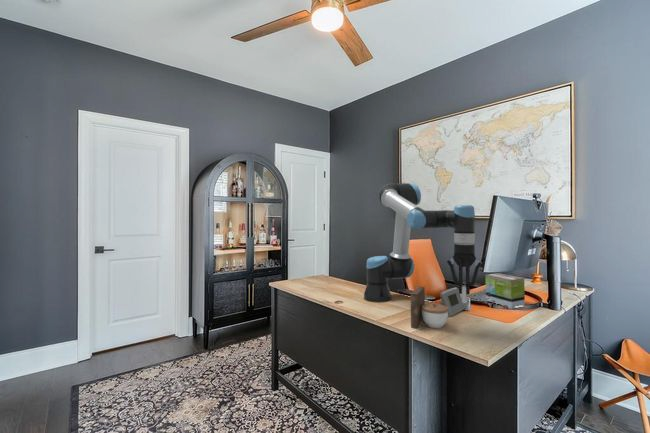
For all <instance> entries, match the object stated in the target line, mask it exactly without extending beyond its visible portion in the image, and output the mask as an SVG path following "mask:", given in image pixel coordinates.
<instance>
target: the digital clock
mask: <svg viewBox="0 0 650 433" xmlns="http://www.w3.org/2000/svg"><path fill="white" fill-rule="evenodd" d="M439 296H440V300H441V302H440V303H439V304H440V305H444V306H446V307H448V317H451V316H454V315H457V314H458V313H460V312H462V311H464V310H465V308H466V307H465V303H462V294H459V287H452V288H451V287H450V288H448V289H445V290H443V291H441V292H440V293H439Z"/></svg>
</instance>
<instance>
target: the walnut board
mask: <svg viewBox="0 0 650 433" xmlns="http://www.w3.org/2000/svg"><path fill="white" fill-rule="evenodd" d="M425 292H426V290H425V286H417V287H416V288H415V289H414V290H413V291H411V293H410V328H411V329H418V328H419V327H420V325H422V323H423V322H424V320H423V317H422V309H421V306H422V305H424V304H426V302H425V301H426V299H425V297H426V296H425Z"/></svg>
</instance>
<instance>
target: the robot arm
mask: <svg viewBox="0 0 650 433" xmlns="http://www.w3.org/2000/svg"><path fill="white" fill-rule="evenodd" d="M377 198H378V201H379V203H381V205H383V206H384V207H385V208H386V207H387V208H390V209H392V211H394V212H395V220H394V221H395V222H394V236H393V247H392V252H390V253H389V257H387V255H377V256H376V255H375V256H371V257H369V258H367V260H366V286H365V289H364V290H365V291H364V292H363V299H364V300H366V301H368V302H374V303H375V302H376V303H383V302H389V301H391V300H392V292H391V290H390V288H389V283H388V282H389V280H394V279H405V278H406V279H408V278H410V277H411V276H412V275H413V273H414V271H415V264H414V260H413V258H412V255H411V254H410V253H409V252H410V251H409V249H410V239H411V238H410V237H411V229H416V230H421V229H453V236H454V237H453V241H454V243H455V244H454V245H453V247H454V249H453V251H454V252H453V256H452V258H450V259H448V260H447V262H446V263H447V265H448V266H449V268H450V271H451V276H452V279H453V283H454V285H457V286H458V290H459V294H460V295H461V298H462V303H464V304H467V301H468V300H467V299H468V298H467V296H469V295H470V294H471V293H470V290H471V288H470V287H473V286H475V284H476V281H477V276H478V272H479V269H480V268H481V267H482V265H483V263H482V261H479V260H478V259H477V257H476V255H475V254H476V252H475V250H476V249H475V247H476V246H475V242H476V240H475V238H476V235H475V234H476V233H475V223H476V222H475V220H476V219H475V218H476V214H475V207H474V206H473V205H472V204H471V205H469V204H468V205H465V204H464V205H461V204H460V205H454V207H453V210H451V209H448V210H447V209H445V210H444V209H443V210H440V209H439V210H426V209H424V208H421V207H419V206H418V205H420V203H421V200H422V193H421V189H420V188H419V186H418V185H417V184H415V183H408V182H407V183H405V182H404V183H403V182H401V183H393V182H392V183H391V182H390V183H387V184H383V186H381V187H380V189H379V191H378V192H377ZM454 263H456V265H457V266H458V277H457V271H456V269H455V268H456V267H455V265H454ZM473 264H474V265H475V268H474V272H473V275H472V278H471V271H470V269H471V266H472V265H473ZM464 268H465V284H464V276H463V275H464V271H463V270H464Z"/></svg>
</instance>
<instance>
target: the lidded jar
mask: <svg viewBox="0 0 650 433" xmlns="http://www.w3.org/2000/svg"><path fill="white" fill-rule="evenodd" d="M421 309H422V317H423V322H424V323H425V324H426V325H427V327H430V328H432V329H441V328H443V326H444V325H446V323H447V322H448V317H449V316H448V307H446V306H444V305H440V303H436V302H433V303H425V304H424V305H422V306H421Z"/></svg>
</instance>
